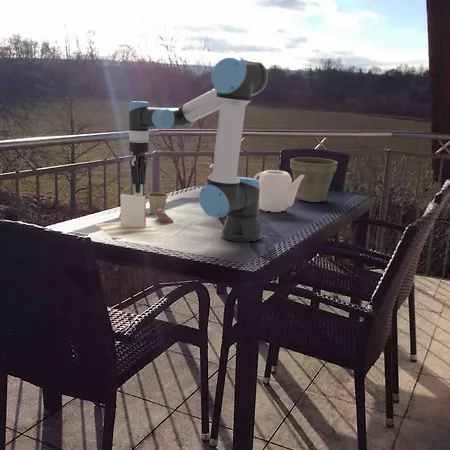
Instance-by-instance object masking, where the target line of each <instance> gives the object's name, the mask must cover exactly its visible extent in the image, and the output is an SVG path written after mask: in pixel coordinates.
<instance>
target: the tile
mask: <svg viewBox="0 0 450 450" xmlns="http://www.w3.org/2000/svg"><path fill="white" fill-rule="evenodd" d="M146 196H147V195H143V196H137V195H135V194H124V193H122V194H120V222H121V225H131V226H141V227H145V226H146V224H147V223H146V222H147V212H146V211H147V210H146V209H147V197H146Z"/></svg>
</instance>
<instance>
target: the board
mask: <svg viewBox="0 0 450 450" xmlns="http://www.w3.org/2000/svg"><path fill="white" fill-rule="evenodd" d="M94 225H95V226H96V227H97V228H99V229H100V230H101V231H103V232H104V233H106V234H107V235H108V236H111V237H110V238H111V239H112V240H113V241H114V240H115V241H116V239H118V240H120V238H127V237H135V236H145V235H153V234H162V232H161V231H160V230H158V229H156V228H154V227H152V226H151V225H149V224H147V223H146V226H145V227H141V226H131V225H121V221H115V222H104V223H95V224H94Z"/></svg>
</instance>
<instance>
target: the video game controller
mask: <svg viewBox="0 0 450 450" xmlns="http://www.w3.org/2000/svg"><path fill="white" fill-rule="evenodd" d="M154 216H156V217H158V218H159V220H160V222H161V223H166V224H173V223H174V219H172V218H171V217H170V216H169V215H168V214H167V213H166V210H165V211H164V210H163V209H157V210H156V214H155V215H154Z"/></svg>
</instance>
